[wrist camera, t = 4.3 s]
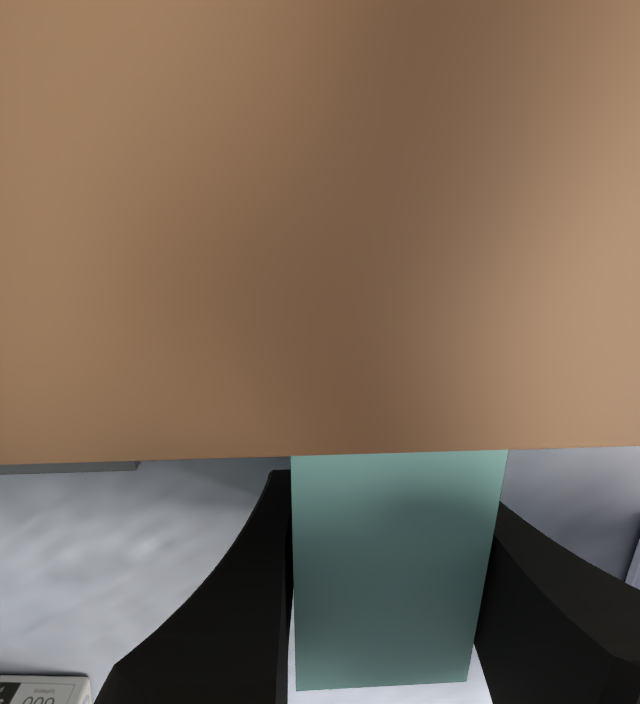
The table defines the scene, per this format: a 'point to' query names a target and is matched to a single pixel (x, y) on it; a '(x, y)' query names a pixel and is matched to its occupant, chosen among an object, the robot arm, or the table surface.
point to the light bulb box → (44, 690)
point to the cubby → (317, 227)
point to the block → (390, 564)
